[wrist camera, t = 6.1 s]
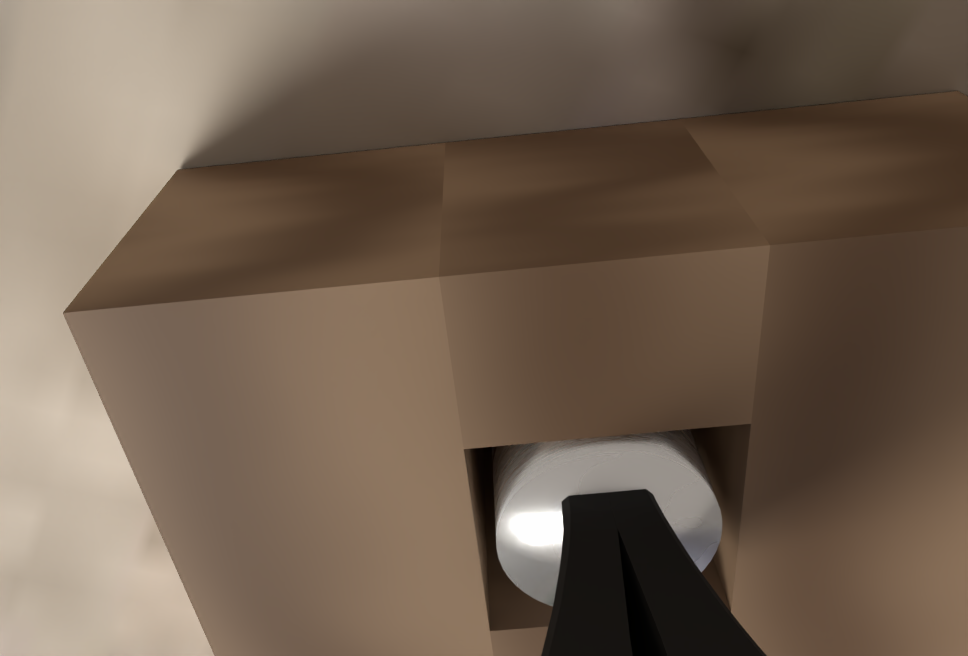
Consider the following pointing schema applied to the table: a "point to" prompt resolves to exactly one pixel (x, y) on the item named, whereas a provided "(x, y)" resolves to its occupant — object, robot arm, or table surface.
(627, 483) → the peg
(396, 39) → the table surface
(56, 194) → the table surface
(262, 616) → the socket block
